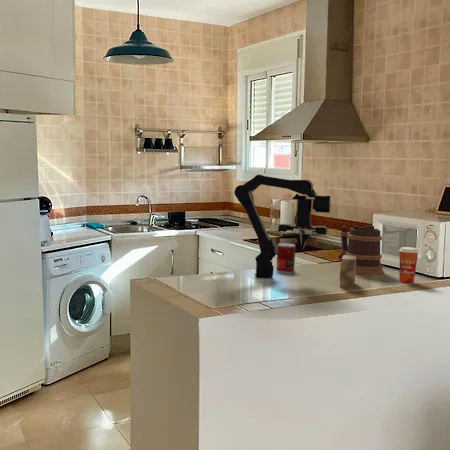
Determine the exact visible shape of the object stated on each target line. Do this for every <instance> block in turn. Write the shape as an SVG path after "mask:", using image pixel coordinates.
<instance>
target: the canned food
mask: <svg viewBox="0 0 450 450" xmlns="http://www.w3.org/2000/svg"><path fill="white" fill-rule="evenodd" d="M277 245H278V246H279V247H277V248H278V253H277V255H276V264H275V265H276V267H275V268H276V270H277V271H281V270H284V271H283V272H292V270H293V271H294V269H295V263H296V261H295V260H296V245H295V244H294V243H284V242H283V243H278V244H277Z"/></svg>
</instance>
